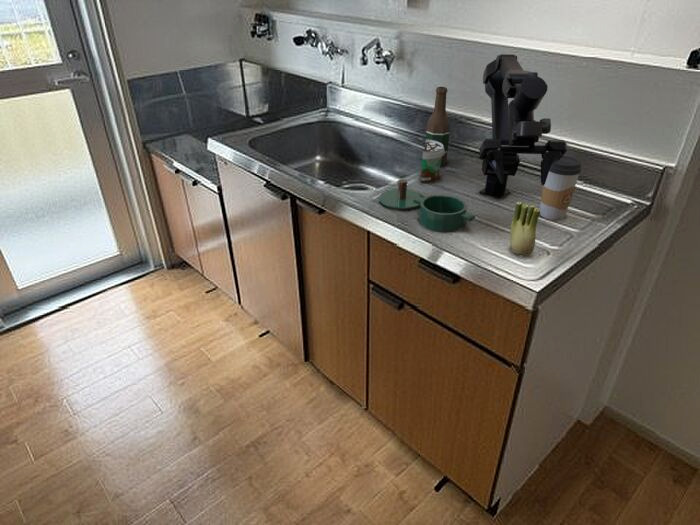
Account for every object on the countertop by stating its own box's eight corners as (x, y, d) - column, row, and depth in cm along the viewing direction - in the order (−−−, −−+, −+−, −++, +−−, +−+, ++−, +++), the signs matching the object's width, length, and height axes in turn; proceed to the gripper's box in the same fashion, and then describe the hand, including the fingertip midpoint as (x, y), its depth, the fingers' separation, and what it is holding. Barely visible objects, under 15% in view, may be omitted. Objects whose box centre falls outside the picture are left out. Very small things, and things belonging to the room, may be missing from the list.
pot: (426, 204, 135) (428, 188, 132) (481, 223, 126) (484, 206, 123) (402, 219, 128) (403, 202, 125) (458, 240, 118) (461, 222, 116)
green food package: (441, 186, 146) (444, 153, 140) (420, 184, 147) (422, 152, 141) (442, 170, 156) (446, 140, 151) (423, 169, 157) (425, 138, 152)
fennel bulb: (504, 247, 115) (513, 200, 109) (523, 245, 116) (533, 198, 110) (516, 260, 111) (526, 211, 104) (536, 257, 112) (547, 209, 105)
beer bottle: (441, 169, 157) (448, 91, 144) (419, 164, 161) (424, 88, 148) (450, 161, 163) (458, 86, 150) (428, 157, 166) (435, 83, 154)
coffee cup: (552, 225, 125) (566, 168, 117) (528, 212, 131) (539, 158, 123) (575, 218, 128) (590, 163, 120) (551, 205, 134) (563, 152, 126)
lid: (396, 188, 144) (397, 168, 141) (432, 200, 137) (434, 180, 134) (370, 202, 136) (370, 181, 133) (406, 215, 130) (408, 194, 126)
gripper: (488, 103, 109) (489, 168, 106) (574, 104, 108) (578, 171, 105) (478, 127, 120) (479, 188, 117) (556, 129, 119) (559, 190, 115)
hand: (523, 184), depth 113 cm, fingers open, 9 cm apart
